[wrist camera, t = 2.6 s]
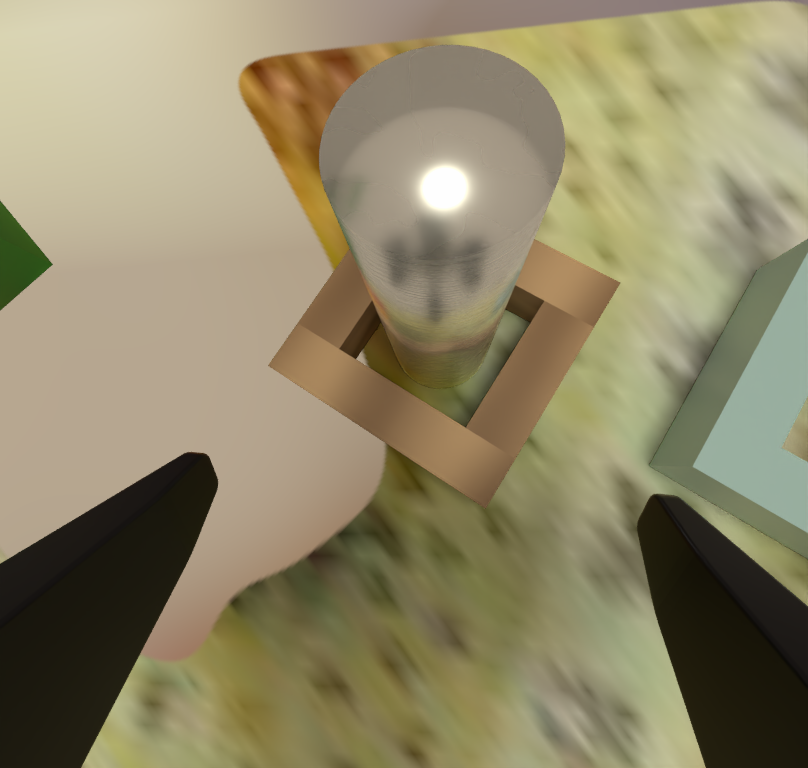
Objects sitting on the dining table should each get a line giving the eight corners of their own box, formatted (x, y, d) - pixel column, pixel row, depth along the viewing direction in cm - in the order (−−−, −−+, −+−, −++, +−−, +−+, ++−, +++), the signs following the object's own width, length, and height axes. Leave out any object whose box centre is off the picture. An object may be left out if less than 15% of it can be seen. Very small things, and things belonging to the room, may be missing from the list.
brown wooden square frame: (596, 307, 21) (620, 282, 19) (479, 501, 20) (485, 508, 17) (407, 208, 24) (403, 172, 21) (290, 378, 22) (268, 365, 19)
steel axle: (504, 328, 22) (611, 101, 8) (456, 406, 21) (481, 303, 7) (426, 284, 23) (402, 13, 9) (377, 358, 22) (273, 188, 8)
